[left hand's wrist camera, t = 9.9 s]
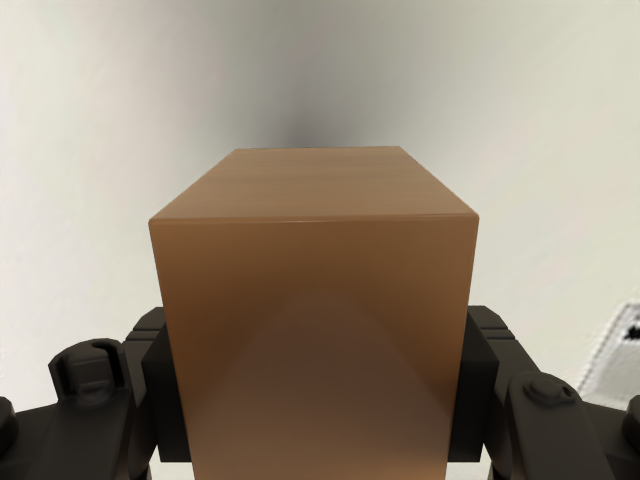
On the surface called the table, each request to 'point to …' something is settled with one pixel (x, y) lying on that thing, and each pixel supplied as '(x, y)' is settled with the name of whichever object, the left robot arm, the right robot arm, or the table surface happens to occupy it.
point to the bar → (316, 313)
